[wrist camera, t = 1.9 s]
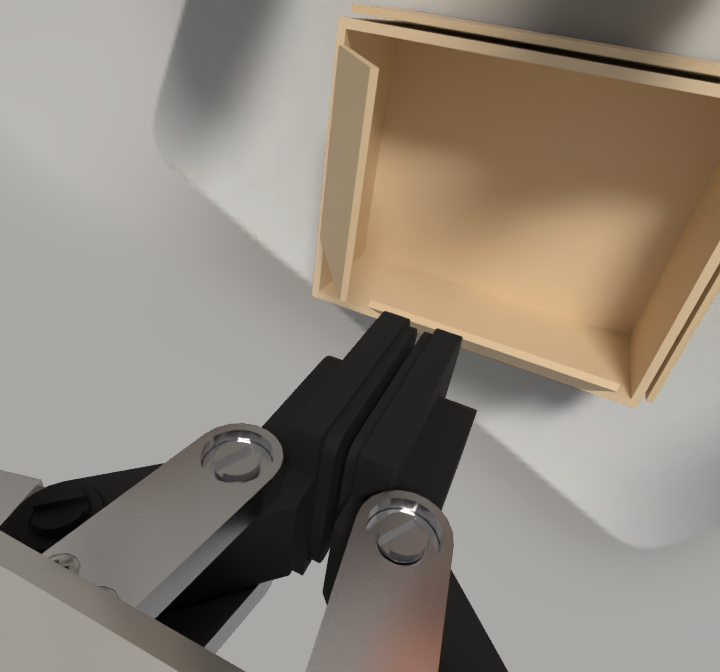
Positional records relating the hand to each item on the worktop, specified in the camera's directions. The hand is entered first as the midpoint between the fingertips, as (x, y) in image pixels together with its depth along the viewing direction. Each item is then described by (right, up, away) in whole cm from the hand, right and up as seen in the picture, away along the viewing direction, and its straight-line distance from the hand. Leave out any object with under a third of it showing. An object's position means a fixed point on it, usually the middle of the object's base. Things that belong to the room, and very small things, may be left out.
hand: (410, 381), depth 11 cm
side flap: (+6, 0, +16) cm, 17 cm away
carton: (+8, +9, +18) cm, 22 cm away
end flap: (-3, +10, +14) cm, 18 cm away
